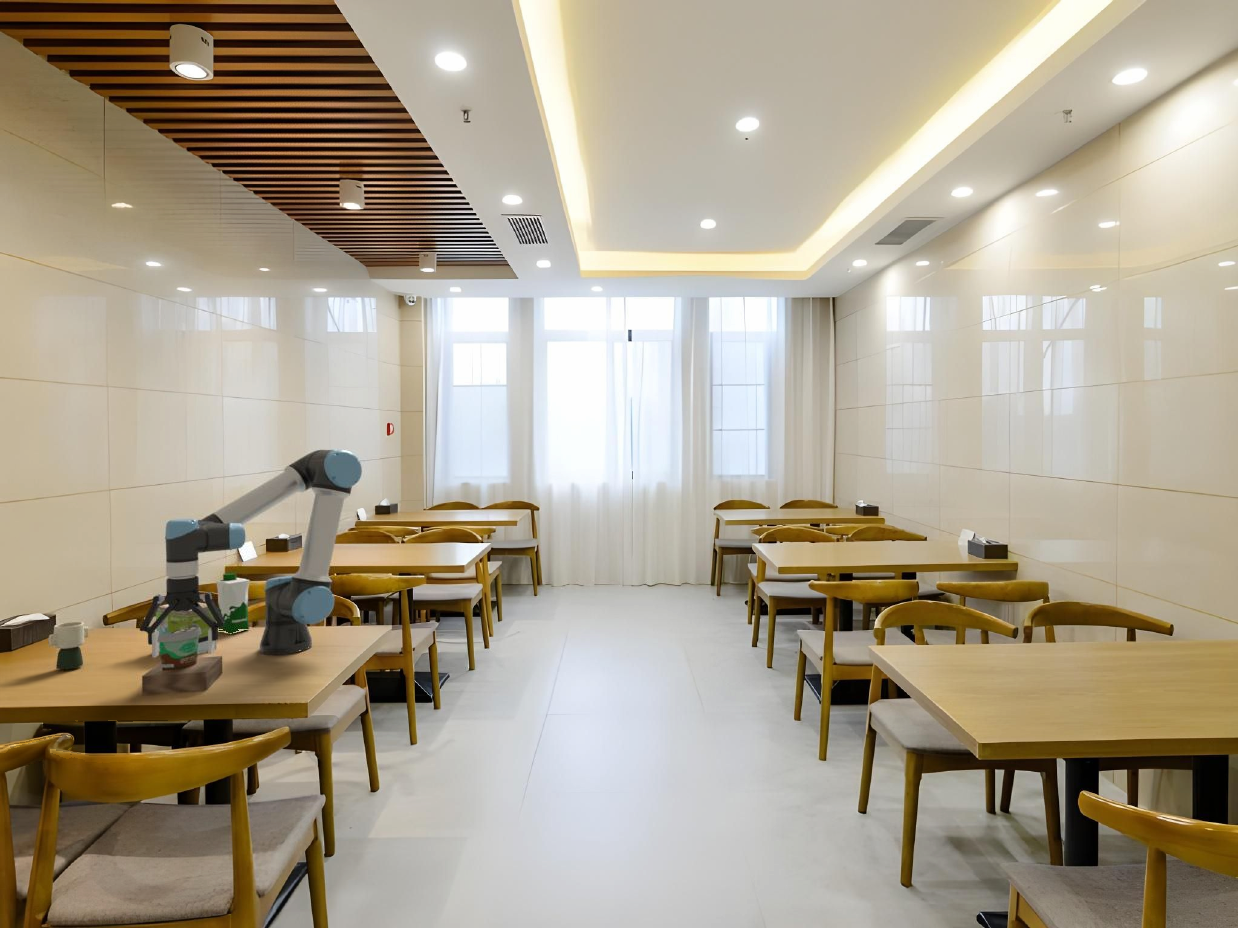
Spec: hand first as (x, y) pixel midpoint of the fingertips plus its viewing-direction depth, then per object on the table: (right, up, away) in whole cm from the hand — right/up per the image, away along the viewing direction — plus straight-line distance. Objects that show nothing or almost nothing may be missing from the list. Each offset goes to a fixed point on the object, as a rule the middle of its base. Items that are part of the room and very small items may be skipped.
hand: (183, 654), depth 197 cm
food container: (0, -3, 0) cm, 3 cm away
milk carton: (-17, -7, +57) cm, 60 cm away
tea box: (-19, -8, +33) cm, 38 cm away
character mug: (-42, -8, +14) cm, 45 cm away
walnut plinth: (0, -8, 0) cm, 8 cm away
